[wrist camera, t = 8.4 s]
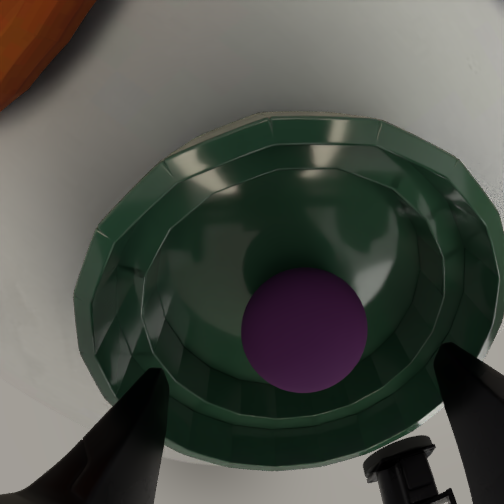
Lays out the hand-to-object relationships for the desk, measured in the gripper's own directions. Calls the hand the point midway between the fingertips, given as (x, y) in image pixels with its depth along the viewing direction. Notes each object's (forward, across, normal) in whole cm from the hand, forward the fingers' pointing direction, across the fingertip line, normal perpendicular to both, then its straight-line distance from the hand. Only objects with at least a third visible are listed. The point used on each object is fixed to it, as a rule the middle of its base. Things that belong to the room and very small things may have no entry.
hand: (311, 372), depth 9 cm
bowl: (+5, 0, 0) cm, 5 cm away
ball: (+2, 0, 0) cm, 2 cm away
